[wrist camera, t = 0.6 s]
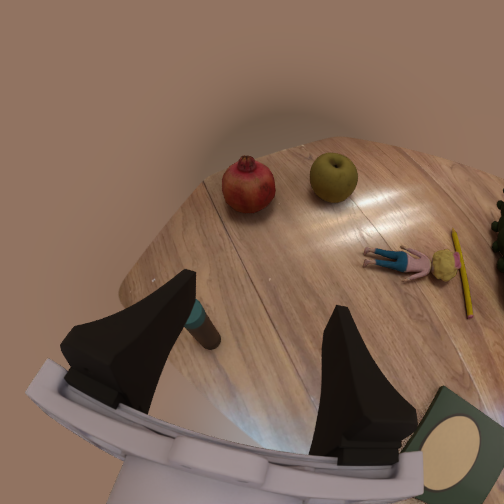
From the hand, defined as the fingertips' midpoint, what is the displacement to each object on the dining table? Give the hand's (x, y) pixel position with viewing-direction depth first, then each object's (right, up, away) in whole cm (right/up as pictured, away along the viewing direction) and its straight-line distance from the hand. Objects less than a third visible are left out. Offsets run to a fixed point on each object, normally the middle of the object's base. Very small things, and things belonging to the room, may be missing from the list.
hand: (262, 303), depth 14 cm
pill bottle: (-6, -8, +19) cm, 22 cm away
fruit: (-1, +10, +31) cm, 33 cm away
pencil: (+32, 0, +21) cm, 39 cm away
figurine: (+22, 0, +22) cm, 32 cm away
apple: (+13, +12, +31) cm, 36 cm away
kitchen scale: (+26, -24, +6) cm, 36 cm away
